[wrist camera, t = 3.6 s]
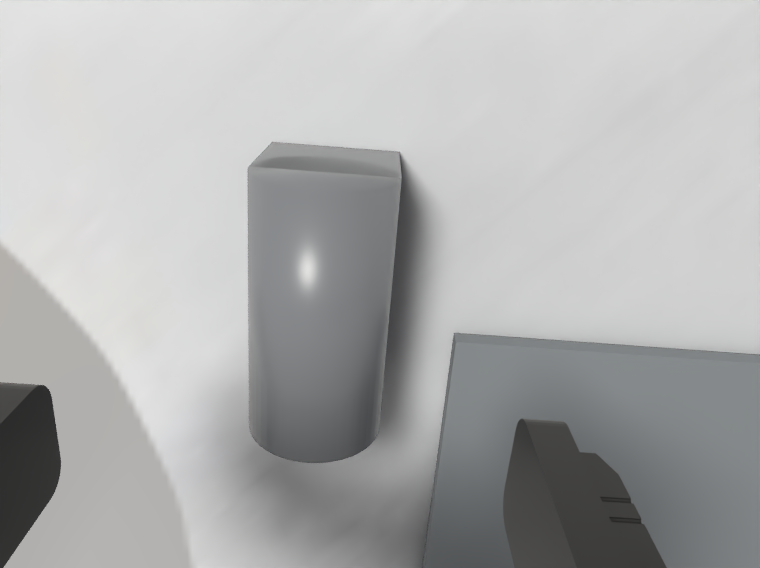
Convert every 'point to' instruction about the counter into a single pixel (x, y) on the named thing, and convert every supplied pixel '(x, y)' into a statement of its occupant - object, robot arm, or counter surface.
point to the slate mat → (604, 442)
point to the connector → (319, 296)
